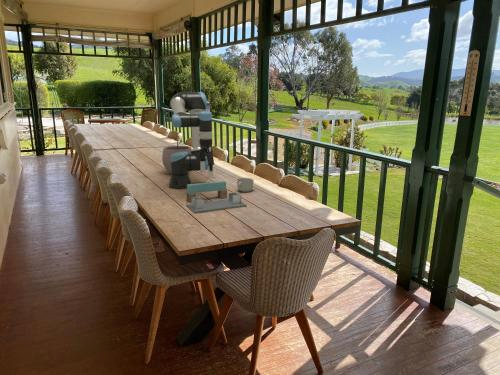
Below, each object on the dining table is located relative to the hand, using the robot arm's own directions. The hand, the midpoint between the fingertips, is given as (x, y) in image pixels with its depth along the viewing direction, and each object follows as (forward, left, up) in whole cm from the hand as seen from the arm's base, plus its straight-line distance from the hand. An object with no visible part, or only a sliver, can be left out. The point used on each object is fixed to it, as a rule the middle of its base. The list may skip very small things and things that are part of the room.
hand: (206, 174), depth 232 cm
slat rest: (0, 0, -16) cm, 16 cm away
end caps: (+16, 0, -16) cm, 22 cm away
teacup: (-7, +28, -16) cm, 33 cm away
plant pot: (-77, +4, -16) cm, 79 cm away
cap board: (+16, 0, -16) cm, 22 cm away
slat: (0, 0, -11) cm, 11 cm away
